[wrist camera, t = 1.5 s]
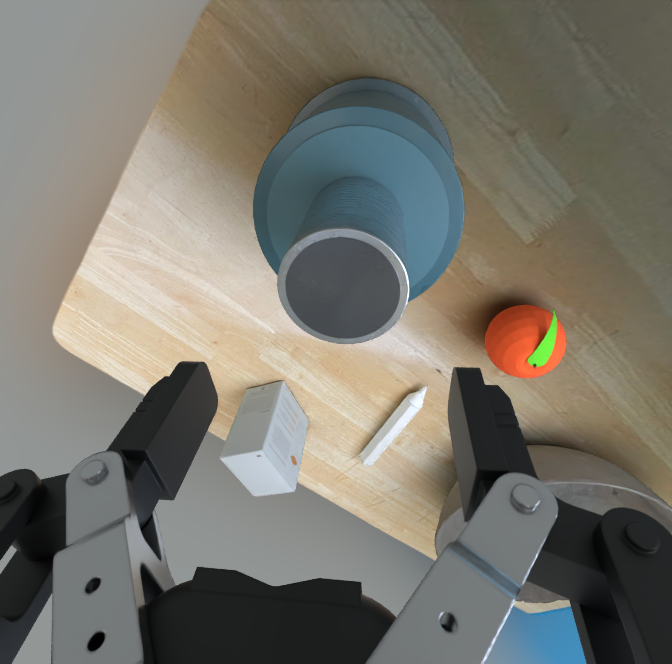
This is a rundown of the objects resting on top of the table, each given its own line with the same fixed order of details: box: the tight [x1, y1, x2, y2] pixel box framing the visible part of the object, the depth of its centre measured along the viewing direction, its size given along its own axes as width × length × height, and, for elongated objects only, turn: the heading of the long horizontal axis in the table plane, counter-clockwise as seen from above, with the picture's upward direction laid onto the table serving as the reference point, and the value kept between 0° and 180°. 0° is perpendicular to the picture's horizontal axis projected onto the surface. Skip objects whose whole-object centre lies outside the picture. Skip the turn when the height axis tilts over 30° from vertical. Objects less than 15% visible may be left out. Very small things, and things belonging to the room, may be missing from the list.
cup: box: [277, 177, 410, 344], centre depth 21 cm, size 6×6×8 cm
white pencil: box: [359, 385, 428, 467], centre depth 49 cm, size 3×2×16 cm
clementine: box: [485, 305, 567, 378], centre depth 36 cm, size 8×7×7 cm
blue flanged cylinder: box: [253, 78, 465, 302], centre depth 28 cm, size 14×14×11 cm
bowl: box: [435, 445, 672, 603], centre depth 50 cm, size 28×28×10 cm
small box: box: [219, 381, 309, 497], centre depth 46 cm, size 8×6×10 cm
